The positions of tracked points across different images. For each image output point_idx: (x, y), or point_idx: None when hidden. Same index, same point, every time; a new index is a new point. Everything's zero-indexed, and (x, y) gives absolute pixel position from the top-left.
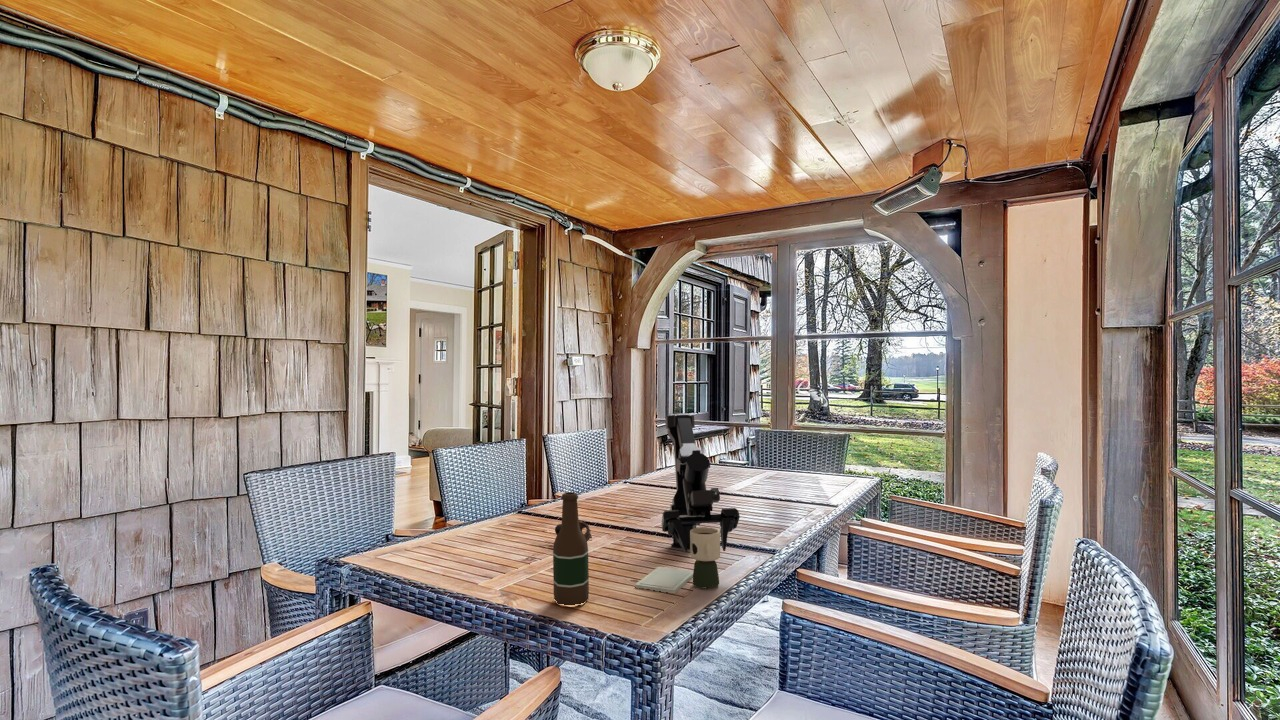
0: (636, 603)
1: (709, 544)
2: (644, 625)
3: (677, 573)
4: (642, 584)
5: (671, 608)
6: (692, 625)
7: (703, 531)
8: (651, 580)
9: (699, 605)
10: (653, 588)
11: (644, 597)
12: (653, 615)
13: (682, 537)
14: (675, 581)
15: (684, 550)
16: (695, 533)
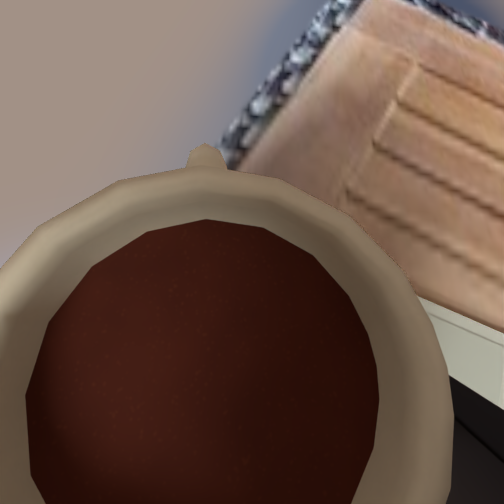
0: (464, 196)
1: (193, 160)
2: (410, 62)
3: None
4: (490, 339)
5: (350, 153)
6: (288, 52)
7: None
8: (465, 381)
9: (262, 168)
10: (437, 306)
11: (450, 244)
12: (397, 113)
13: (483, 416)
14: None
15: None
16: (358, 240)
